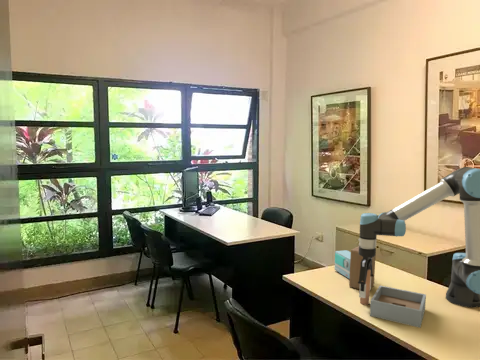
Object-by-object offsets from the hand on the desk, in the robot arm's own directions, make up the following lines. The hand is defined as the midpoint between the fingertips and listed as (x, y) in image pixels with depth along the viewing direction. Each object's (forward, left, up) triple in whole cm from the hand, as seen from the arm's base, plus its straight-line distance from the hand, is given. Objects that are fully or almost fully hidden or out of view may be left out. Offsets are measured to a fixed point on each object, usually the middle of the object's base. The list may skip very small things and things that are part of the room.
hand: (364, 293), depth 180 cm
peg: (0, 0, -5) cm, 5 cm away
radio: (+17, -33, -5) cm, 37 cm away
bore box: (-15, +2, -5) cm, 16 cm away
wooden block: (+6, -20, -5) cm, 21 cm away
